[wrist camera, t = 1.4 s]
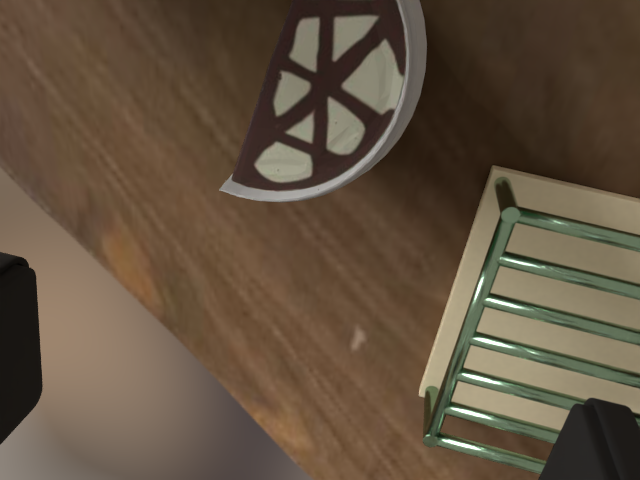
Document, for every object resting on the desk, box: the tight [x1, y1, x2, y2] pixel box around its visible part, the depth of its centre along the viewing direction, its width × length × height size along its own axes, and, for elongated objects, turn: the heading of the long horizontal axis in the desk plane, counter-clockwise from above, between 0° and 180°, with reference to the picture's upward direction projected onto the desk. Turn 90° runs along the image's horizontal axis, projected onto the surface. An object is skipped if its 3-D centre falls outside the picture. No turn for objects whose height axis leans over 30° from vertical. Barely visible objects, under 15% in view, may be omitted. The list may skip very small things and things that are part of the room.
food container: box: [220, 0, 427, 202], centre depth 27 cm, size 12×6×10 cm, turn 158°
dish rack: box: [419, 165, 640, 474], centre depth 32 cm, size 14×16×9 cm
